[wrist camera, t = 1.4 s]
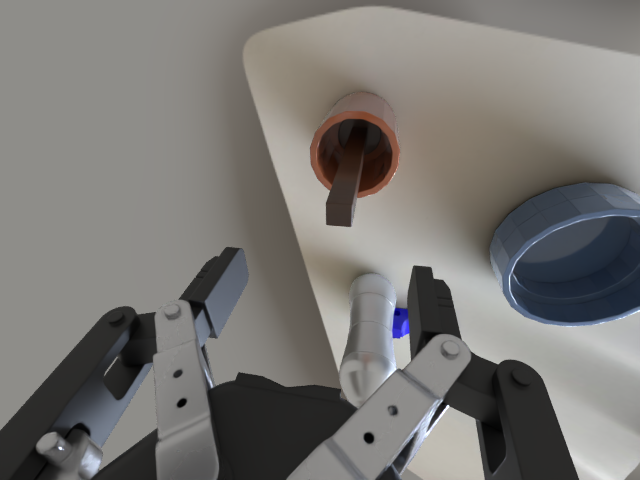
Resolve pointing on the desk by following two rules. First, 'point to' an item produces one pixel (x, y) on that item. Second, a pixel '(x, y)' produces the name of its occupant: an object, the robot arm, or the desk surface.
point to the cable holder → (400, 323)
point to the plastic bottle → (368, 338)
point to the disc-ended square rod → (350, 169)
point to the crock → (375, 164)
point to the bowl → (571, 255)
